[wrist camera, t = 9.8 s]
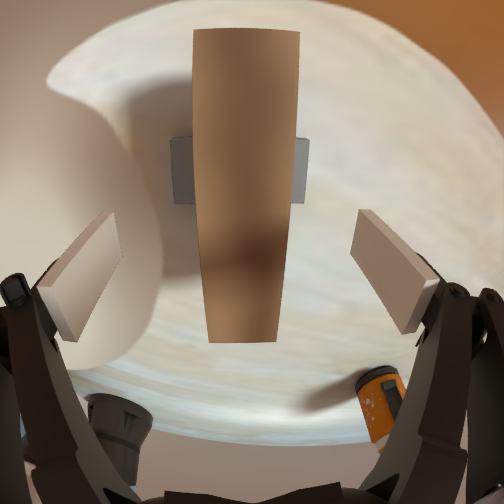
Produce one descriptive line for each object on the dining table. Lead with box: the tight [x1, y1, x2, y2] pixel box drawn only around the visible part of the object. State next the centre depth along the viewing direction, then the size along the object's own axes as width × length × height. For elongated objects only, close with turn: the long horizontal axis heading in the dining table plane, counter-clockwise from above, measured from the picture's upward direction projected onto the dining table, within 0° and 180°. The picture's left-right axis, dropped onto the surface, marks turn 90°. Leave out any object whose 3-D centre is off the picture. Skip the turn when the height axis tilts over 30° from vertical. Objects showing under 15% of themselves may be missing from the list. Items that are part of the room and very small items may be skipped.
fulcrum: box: [170, 137, 310, 204], centre depth 22 cm, size 12×6×7 cm, turn 89°
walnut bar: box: [192, 28, 300, 343], centre depth 17 cm, size 5×20×5 cm, turn 179°
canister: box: [355, 367, 406, 454], centre depth 37 cm, size 9×11×20 cm
